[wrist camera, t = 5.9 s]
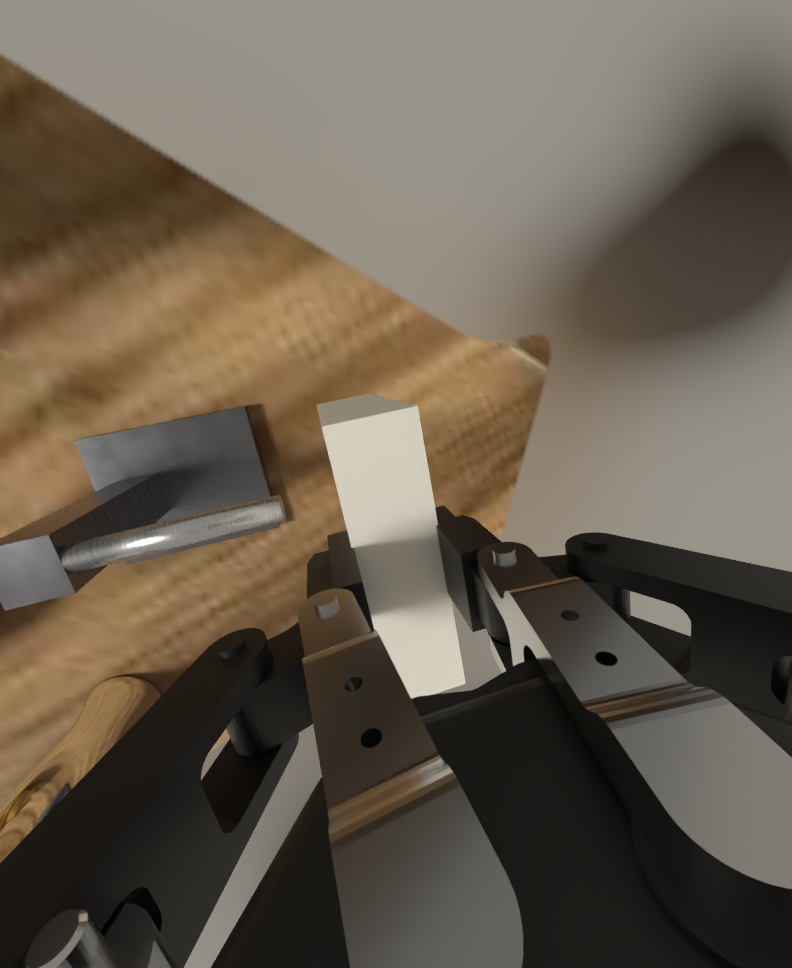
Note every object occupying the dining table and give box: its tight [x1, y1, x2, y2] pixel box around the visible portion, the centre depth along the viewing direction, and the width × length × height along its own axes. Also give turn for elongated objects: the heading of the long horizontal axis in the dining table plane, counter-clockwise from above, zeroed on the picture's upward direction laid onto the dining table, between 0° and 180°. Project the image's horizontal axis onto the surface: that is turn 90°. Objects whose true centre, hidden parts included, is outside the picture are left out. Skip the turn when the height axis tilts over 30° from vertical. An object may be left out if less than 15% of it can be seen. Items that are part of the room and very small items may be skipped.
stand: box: [0, 406, 286, 611], centre depth 25 cm, size 10×14×14 cm
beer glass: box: [0, 676, 161, 863], centre depth 28 cm, size 7×7×15 cm
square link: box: [317, 394, 465, 699], centre depth 16 cm, size 9×2×9 cm, turn 11°
